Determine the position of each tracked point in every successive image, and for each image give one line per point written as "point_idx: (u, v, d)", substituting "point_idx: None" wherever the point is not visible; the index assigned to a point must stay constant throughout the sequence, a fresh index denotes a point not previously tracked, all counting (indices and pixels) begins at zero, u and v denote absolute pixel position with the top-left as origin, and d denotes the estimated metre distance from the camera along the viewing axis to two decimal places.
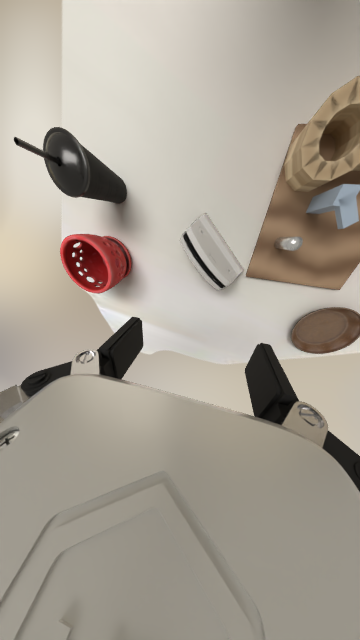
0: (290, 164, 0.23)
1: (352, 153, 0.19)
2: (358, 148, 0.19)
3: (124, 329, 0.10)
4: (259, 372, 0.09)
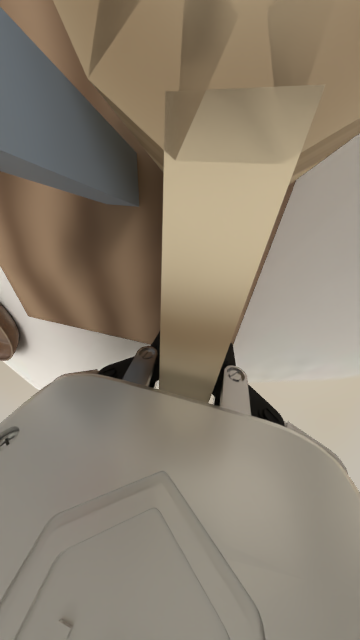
0: None
1: None
2: (181, 10, 0.02)
3: None
4: None
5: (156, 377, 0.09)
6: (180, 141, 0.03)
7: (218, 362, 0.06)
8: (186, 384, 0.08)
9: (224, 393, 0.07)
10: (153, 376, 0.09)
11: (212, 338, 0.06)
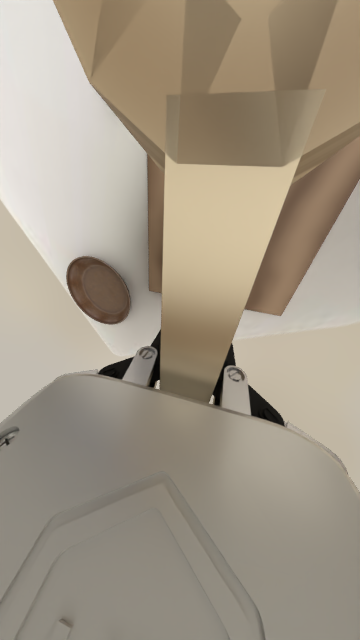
0: None
1: None
2: (182, 14, 0.02)
3: None
4: None
5: (156, 377, 0.09)
6: (181, 144, 0.03)
7: (219, 363, 0.06)
8: (186, 386, 0.08)
9: (224, 393, 0.07)
10: (153, 376, 0.09)
11: (213, 339, 0.06)
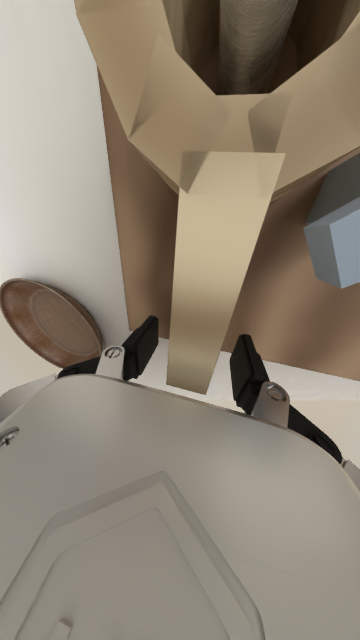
0: None
1: (179, 90, 0.04)
2: (194, 106, 0.04)
3: (144, 326, 0.10)
4: (239, 359, 0.10)
5: (125, 377, 0.09)
6: (191, 181, 0.05)
7: (217, 346, 0.08)
8: (190, 367, 0.09)
9: (257, 406, 0.06)
10: (124, 373, 0.09)
11: (213, 325, 0.07)
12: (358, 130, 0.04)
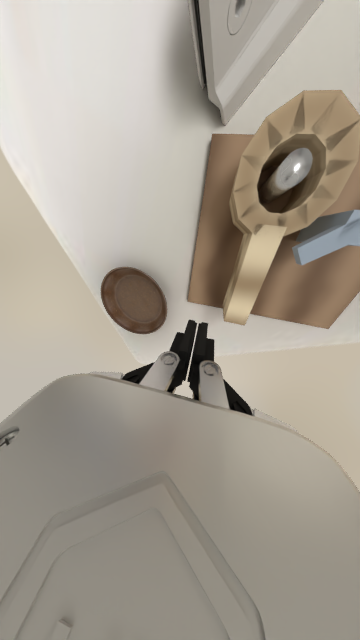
0: None
1: (258, 209, 0.14)
2: (261, 213, 0.14)
3: (189, 332, 0.10)
4: None
5: (177, 383, 0.09)
6: (257, 231, 0.15)
7: (256, 294, 0.18)
8: (240, 308, 0.19)
9: (202, 390, 0.07)
10: (172, 383, 0.08)
11: (255, 284, 0.17)
12: (305, 223, 0.14)
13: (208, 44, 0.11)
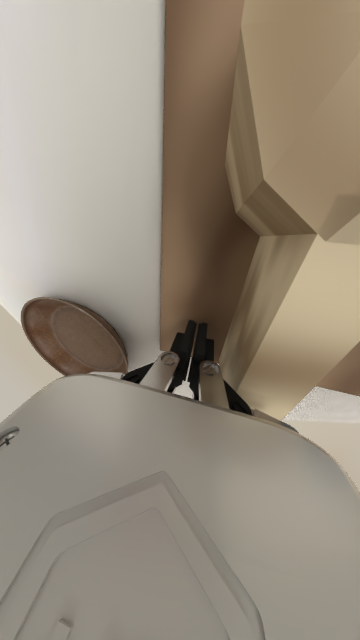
0: None
1: None
2: None
3: (189, 332, 0.10)
4: None
5: (177, 383, 0.09)
6: (337, 228, 0.04)
7: (301, 394, 0.07)
8: None
9: (202, 390, 0.07)
10: (172, 383, 0.08)
11: (304, 374, 0.06)
12: None
13: None
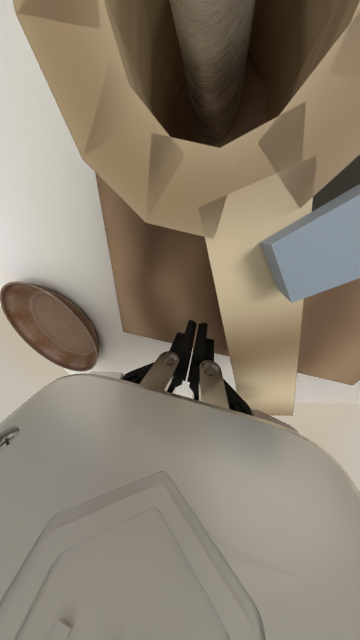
0: None
1: (182, 162, 0.04)
2: (200, 167, 0.04)
3: (189, 332, 0.10)
4: None
5: (177, 383, 0.09)
6: (215, 227, 0.05)
7: (292, 363, 0.07)
8: (265, 392, 0.08)
9: (202, 390, 0.07)
10: (172, 383, 0.08)
11: (280, 344, 0.06)
12: None
13: None
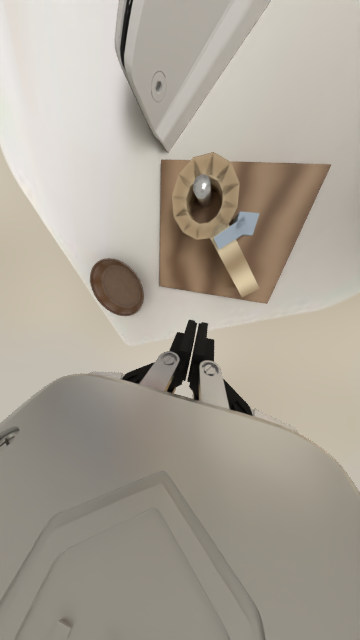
0: None
1: (202, 226, 0.21)
2: (206, 226, 0.21)
3: (189, 332, 0.10)
4: None
5: (177, 383, 0.09)
6: (211, 235, 0.21)
7: (246, 264, 0.22)
8: (244, 280, 0.23)
9: (202, 390, 0.07)
10: (172, 383, 0.08)
11: (239, 259, 0.22)
12: (234, 206, 0.19)
13: (143, 107, 0.18)
